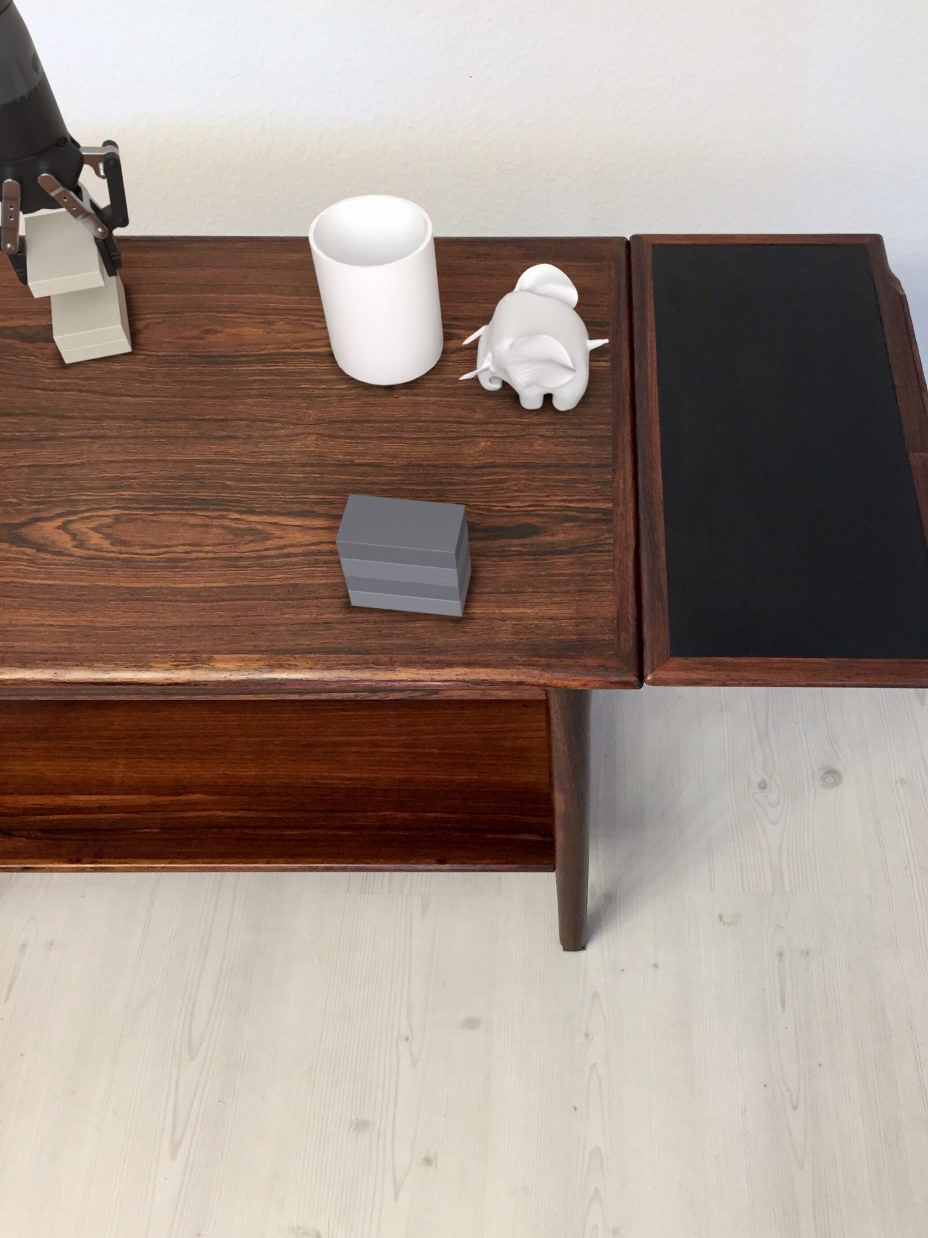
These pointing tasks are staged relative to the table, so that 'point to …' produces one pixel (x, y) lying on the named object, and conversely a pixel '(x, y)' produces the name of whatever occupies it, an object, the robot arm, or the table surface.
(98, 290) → the cream rectangular box
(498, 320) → the elephant figurine
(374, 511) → the grey rectangular block
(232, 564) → the table surface
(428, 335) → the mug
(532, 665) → the table surface
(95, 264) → the off-white rectangular slab
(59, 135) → the robot arm
